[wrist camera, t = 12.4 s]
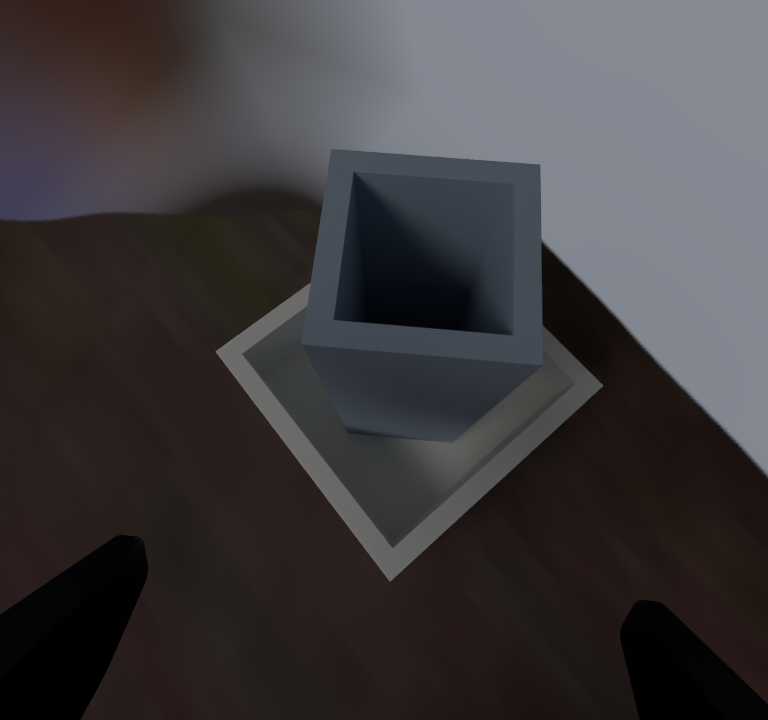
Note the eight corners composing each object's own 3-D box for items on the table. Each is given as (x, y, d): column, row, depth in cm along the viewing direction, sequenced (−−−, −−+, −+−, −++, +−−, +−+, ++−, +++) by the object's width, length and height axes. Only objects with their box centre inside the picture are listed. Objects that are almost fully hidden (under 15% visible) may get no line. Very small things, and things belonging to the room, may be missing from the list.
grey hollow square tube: (451, 442, 22) (543, 365, 9) (348, 433, 22) (301, 344, 9) (456, 345, 23) (539, 164, 11) (359, 336, 23) (331, 149, 11)
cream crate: (388, 565, 21) (389, 581, 17) (245, 378, 23) (215, 351, 19) (563, 406, 23) (603, 385, 19) (414, 252, 26) (420, 203, 21)
